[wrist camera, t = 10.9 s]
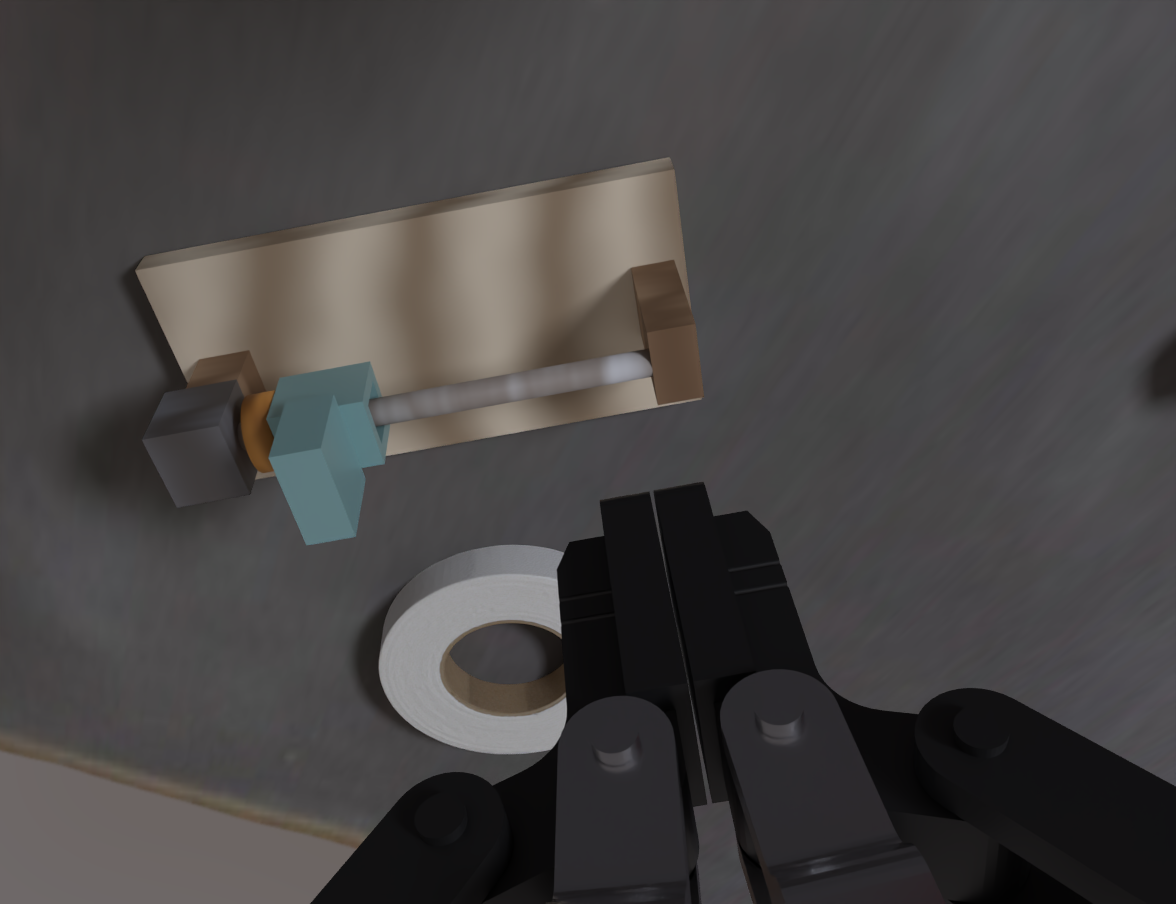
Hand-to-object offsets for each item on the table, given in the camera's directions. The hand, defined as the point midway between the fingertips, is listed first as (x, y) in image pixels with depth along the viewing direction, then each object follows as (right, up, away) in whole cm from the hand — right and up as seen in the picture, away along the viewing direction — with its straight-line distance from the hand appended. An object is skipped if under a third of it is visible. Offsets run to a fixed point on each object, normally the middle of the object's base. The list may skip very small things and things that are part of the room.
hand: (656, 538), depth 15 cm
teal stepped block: (-12, +4, +30) cm, 33 cm away
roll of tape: (-6, -10, +48) cm, 49 cm away
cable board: (-8, +7, +35) cm, 36 cm away
